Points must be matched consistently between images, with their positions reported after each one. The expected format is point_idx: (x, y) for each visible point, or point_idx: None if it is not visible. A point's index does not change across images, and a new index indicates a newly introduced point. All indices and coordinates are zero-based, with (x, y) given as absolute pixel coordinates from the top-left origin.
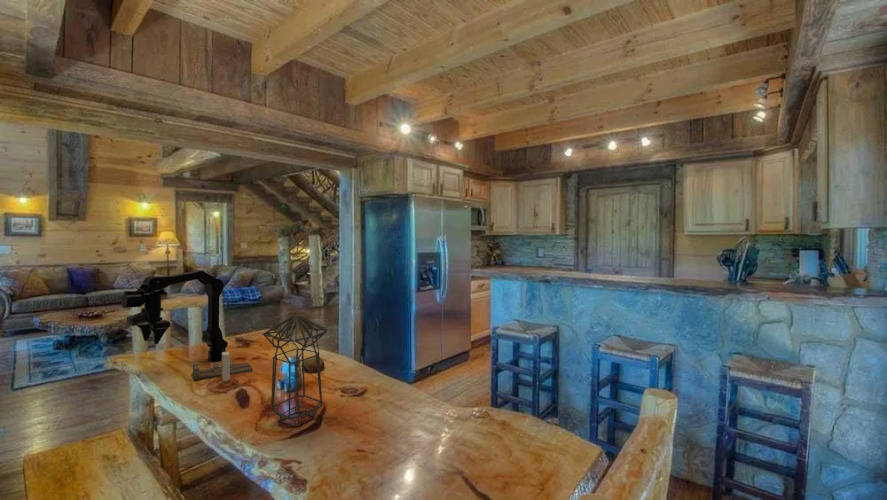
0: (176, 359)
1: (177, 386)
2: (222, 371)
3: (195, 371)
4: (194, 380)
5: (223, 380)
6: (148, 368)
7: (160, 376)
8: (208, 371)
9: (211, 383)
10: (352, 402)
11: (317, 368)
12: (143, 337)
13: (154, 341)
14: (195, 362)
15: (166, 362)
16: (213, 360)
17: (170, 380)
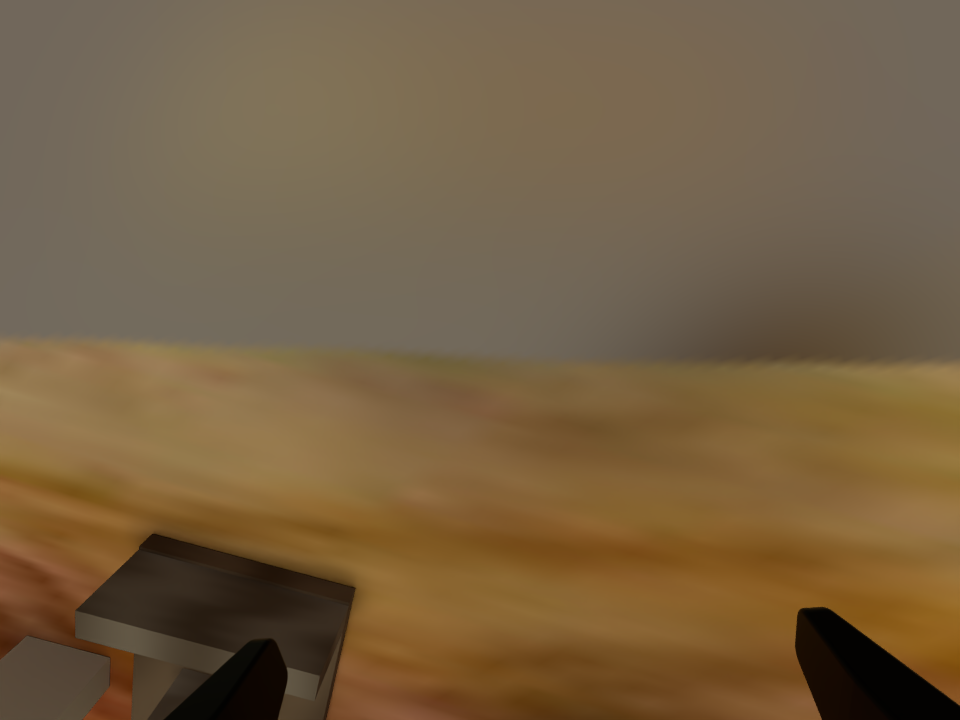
0: (901, 649)
1: (101, 423)
2: (20, 703)
3: (93, 597)
4: (148, 539)
5: (19, 643)
6: (837, 418)
7: (470, 416)
8: None
9: (33, 582)
10: None
11: None
12: (903, 683)
13: (201, 695)
14: (292, 682)
15: (887, 573)
16: None
17: (292, 435)
